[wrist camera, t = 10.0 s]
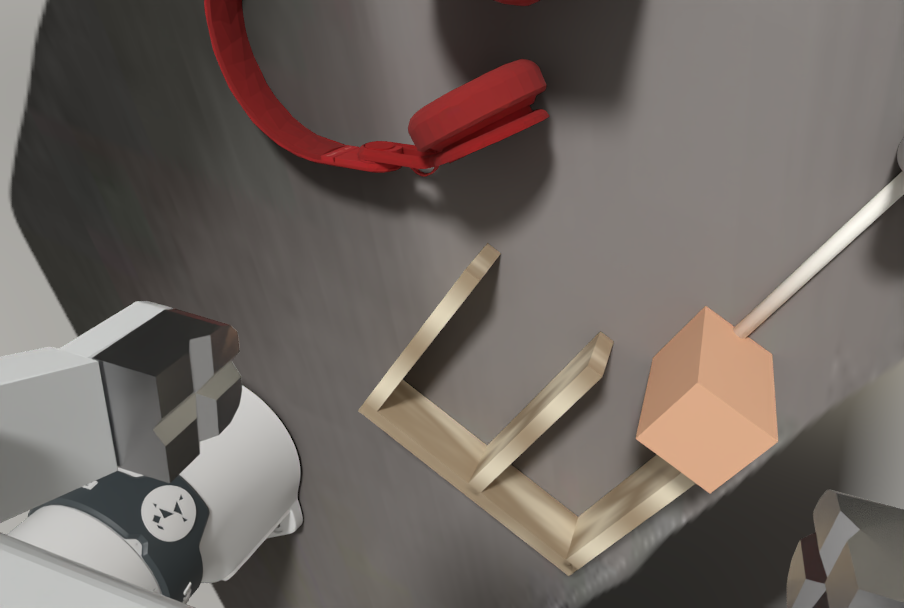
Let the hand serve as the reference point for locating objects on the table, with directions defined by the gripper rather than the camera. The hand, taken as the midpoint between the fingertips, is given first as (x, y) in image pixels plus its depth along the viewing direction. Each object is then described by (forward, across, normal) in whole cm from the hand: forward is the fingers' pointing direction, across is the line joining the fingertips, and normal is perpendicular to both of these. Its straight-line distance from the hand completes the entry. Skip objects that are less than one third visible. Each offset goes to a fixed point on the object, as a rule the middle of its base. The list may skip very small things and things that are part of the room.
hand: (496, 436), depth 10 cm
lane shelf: (+30, +3, +21) cm, 36 cm away
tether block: (+29, -10, +8) cm, 32 cm away
